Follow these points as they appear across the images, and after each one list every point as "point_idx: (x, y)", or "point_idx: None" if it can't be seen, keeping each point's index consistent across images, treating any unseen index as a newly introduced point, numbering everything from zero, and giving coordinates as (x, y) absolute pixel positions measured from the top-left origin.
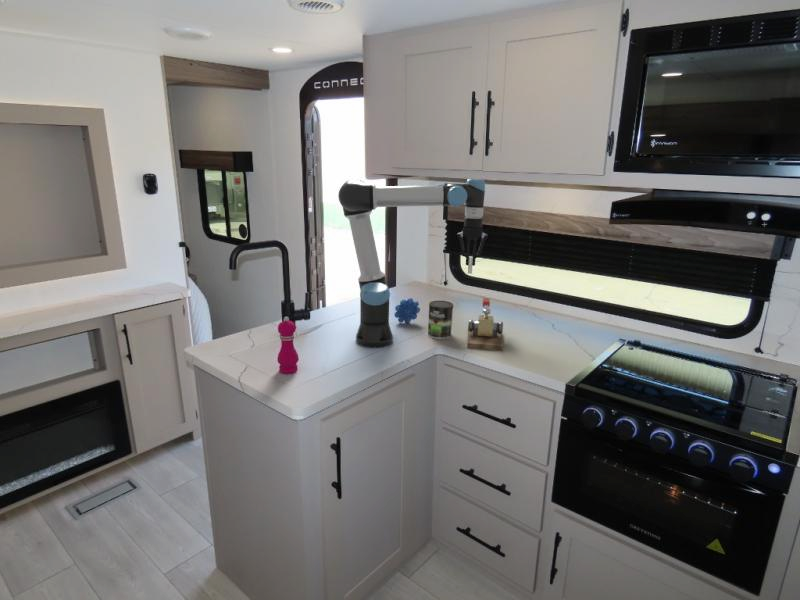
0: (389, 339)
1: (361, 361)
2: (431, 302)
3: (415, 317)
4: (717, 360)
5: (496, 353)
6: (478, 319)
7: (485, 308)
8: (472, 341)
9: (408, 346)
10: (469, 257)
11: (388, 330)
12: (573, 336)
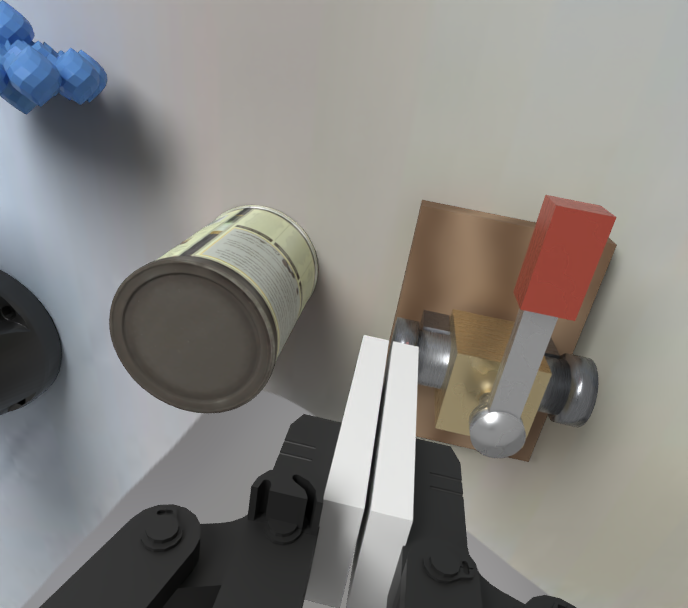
0: (40, 388)
1: (7, 492)
2: (122, 309)
3: (98, 94)
4: None
5: (487, 469)
6: (452, 355)
7: (495, 416)
8: None
9: (131, 389)
10: (331, 526)
11: (6, 396)
12: None
